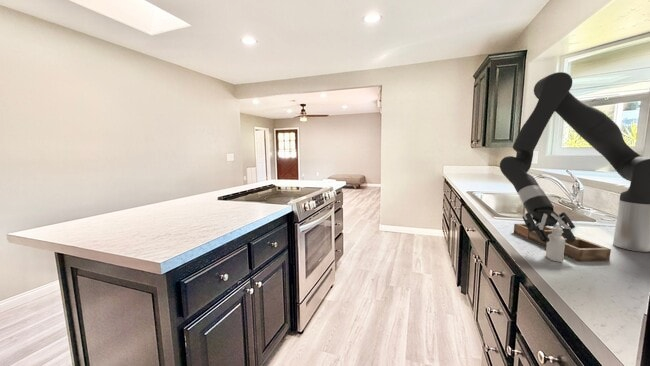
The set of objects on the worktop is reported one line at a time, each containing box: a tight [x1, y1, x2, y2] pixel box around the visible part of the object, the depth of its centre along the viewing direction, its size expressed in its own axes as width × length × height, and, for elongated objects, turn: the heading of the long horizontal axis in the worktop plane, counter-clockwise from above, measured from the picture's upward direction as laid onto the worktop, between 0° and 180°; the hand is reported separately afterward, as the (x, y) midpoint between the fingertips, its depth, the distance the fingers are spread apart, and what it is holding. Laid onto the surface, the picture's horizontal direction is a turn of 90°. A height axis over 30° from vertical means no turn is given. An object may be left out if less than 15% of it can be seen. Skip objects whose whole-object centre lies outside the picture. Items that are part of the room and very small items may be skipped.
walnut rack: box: [513, 223, 612, 262], centre depth 99 cm, size 11×29×4 cm, turn 1°
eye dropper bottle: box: [545, 223, 565, 263], centre depth 86 cm, size 4×6×12 cm
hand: (559, 241), depth 85 cm, fingers open, 8 cm apart
